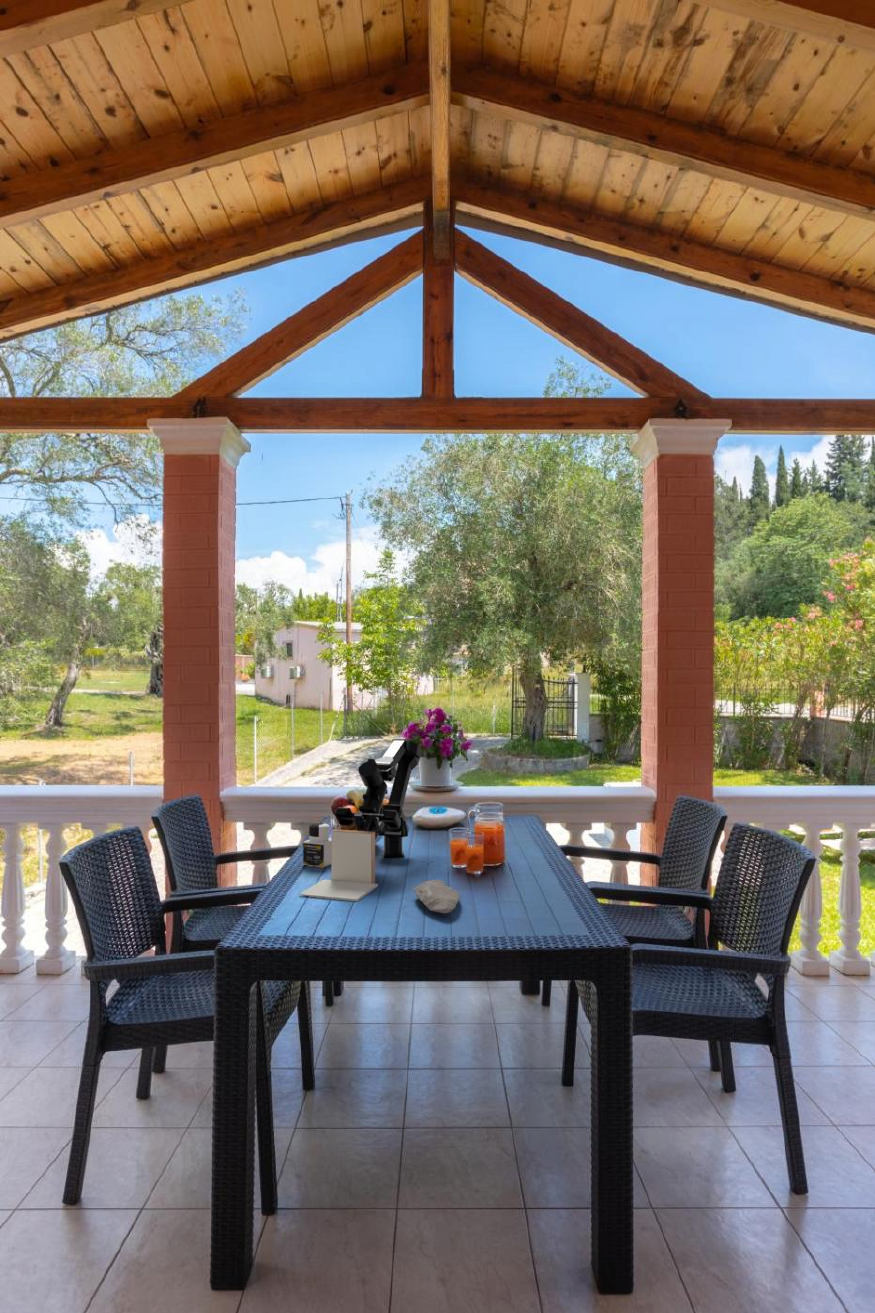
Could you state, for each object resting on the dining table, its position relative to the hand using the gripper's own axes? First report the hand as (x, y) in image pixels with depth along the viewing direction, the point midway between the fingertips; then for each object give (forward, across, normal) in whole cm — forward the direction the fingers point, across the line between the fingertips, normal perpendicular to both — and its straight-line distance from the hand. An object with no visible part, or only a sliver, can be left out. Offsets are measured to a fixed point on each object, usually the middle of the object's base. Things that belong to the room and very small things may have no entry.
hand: (360, 843), depth 231 cm
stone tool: (+20, -28, +6) cm, 36 cm away
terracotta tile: (+11, 0, -3) cm, 11 cm away
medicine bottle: (-1, +17, -15) cm, 23 cm away
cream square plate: (+17, 0, +3) cm, 17 cm away
